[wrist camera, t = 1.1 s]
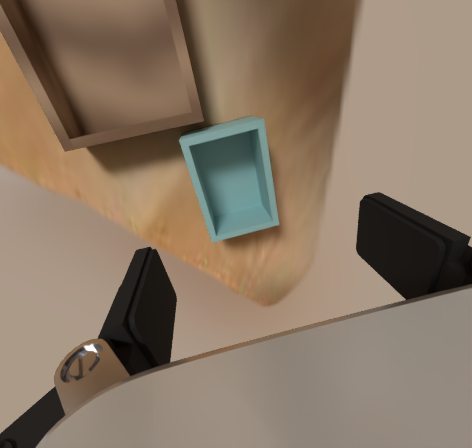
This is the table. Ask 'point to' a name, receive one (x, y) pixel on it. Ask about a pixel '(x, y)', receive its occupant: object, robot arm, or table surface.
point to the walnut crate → (103, 66)
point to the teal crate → (232, 176)
